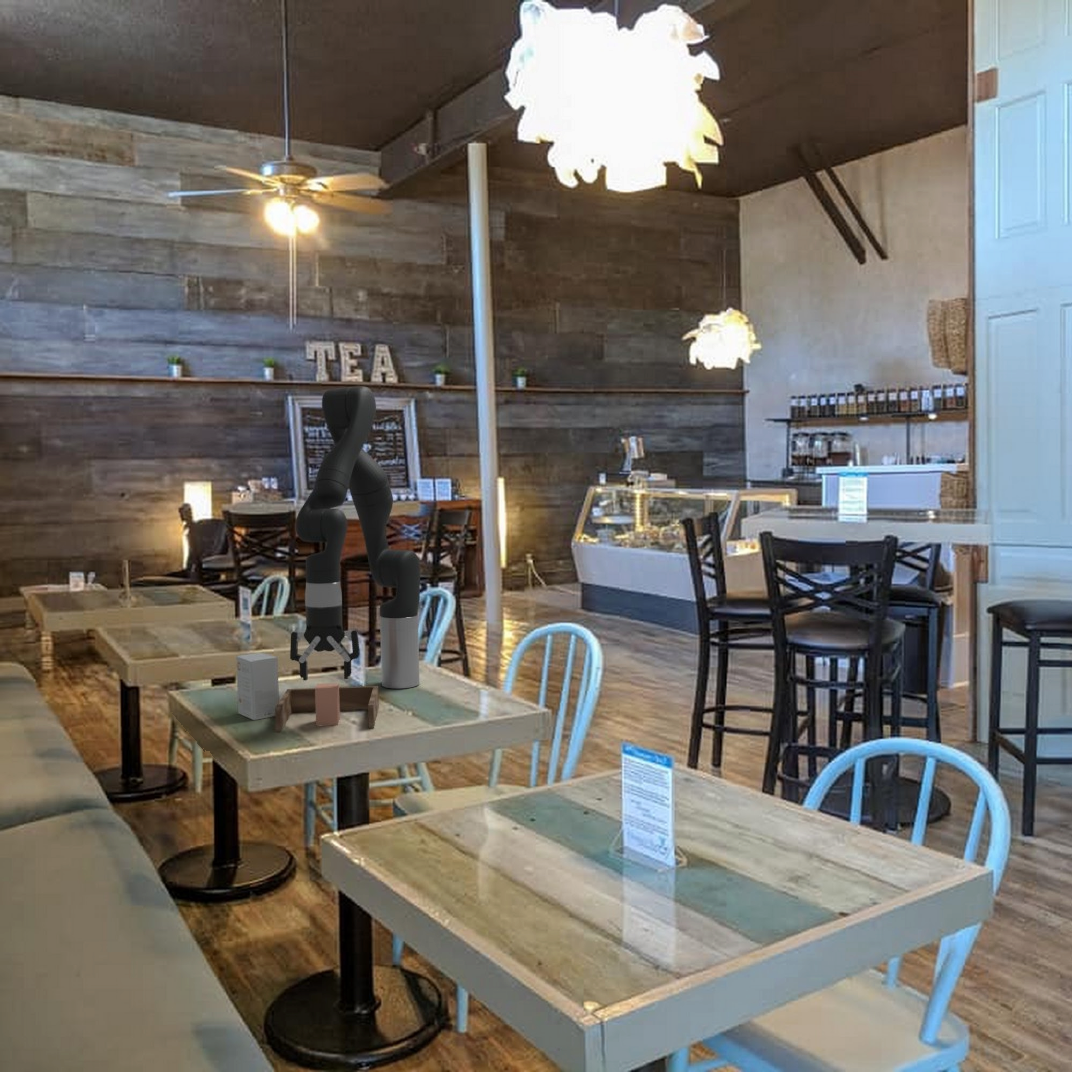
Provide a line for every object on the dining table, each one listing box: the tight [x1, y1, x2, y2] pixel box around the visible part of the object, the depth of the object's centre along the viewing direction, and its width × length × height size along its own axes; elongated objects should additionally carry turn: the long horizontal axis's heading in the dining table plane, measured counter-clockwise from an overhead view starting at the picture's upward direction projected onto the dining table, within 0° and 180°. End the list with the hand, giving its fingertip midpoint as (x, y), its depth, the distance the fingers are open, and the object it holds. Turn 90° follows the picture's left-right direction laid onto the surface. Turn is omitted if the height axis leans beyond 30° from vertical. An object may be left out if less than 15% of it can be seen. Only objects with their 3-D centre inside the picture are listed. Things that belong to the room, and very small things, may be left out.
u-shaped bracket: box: [274, 685, 380, 733], centre depth 223 cm, size 17×20×5 cm
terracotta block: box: [314, 682, 341, 726], centre depth 220 cm, size 4×4×8 cm
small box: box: [235, 652, 280, 721], centre depth 227 cm, size 8×6×13 cm
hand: (325, 679), depth 219 cm, fingers open, 8 cm apart
